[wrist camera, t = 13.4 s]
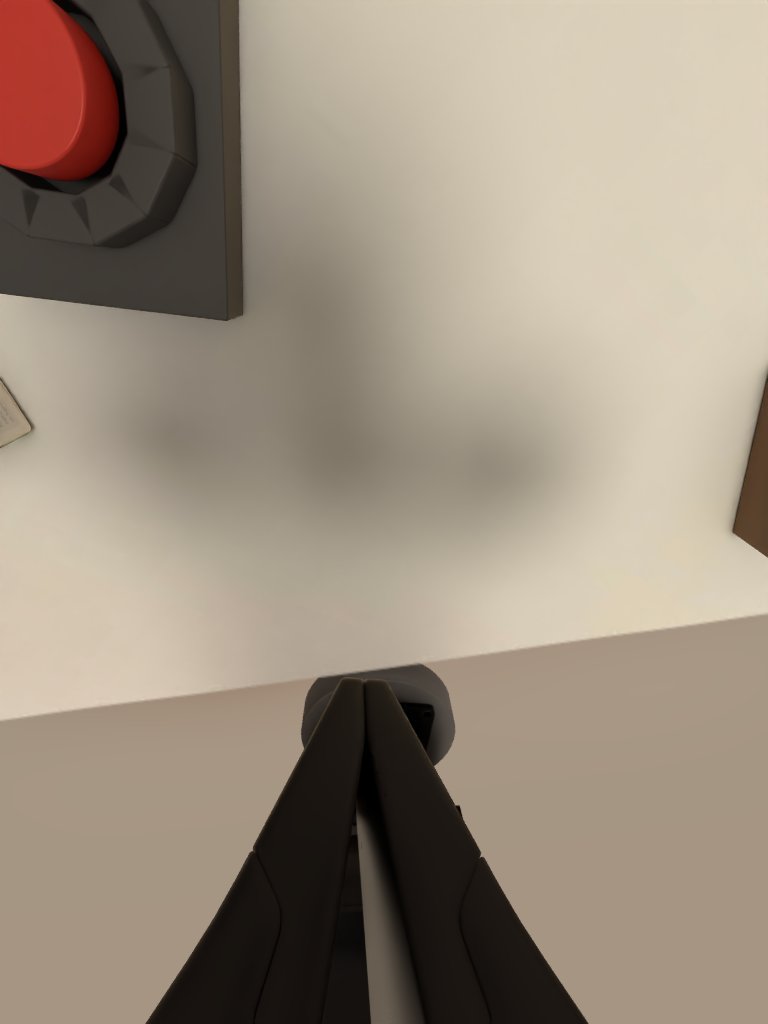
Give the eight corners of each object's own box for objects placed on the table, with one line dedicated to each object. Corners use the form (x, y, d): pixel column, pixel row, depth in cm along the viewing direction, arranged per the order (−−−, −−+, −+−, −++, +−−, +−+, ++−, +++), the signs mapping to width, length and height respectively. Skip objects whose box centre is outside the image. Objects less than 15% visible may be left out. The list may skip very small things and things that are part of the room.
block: (242, 315, 18) (212, 327, 14) (16, 288, 17) (-75, 293, 13) (237, -68, 13) (191, -193, 10) (-71, -127, 13) (-243, -284, 9)
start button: (128, 191, 13) (97, 180, 11) (-12, 171, 13) (-65, 157, 11) (110, 10, 11) (69, -31, 10) (-52, -18, 11) (-121, -65, 9)
